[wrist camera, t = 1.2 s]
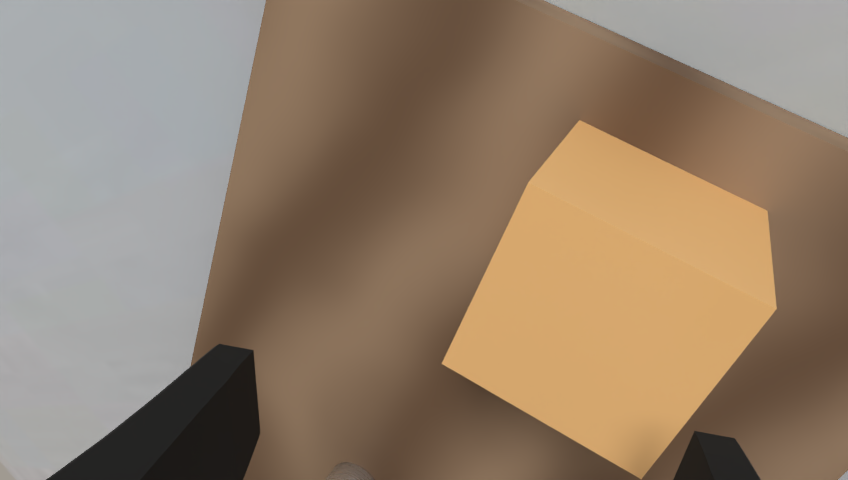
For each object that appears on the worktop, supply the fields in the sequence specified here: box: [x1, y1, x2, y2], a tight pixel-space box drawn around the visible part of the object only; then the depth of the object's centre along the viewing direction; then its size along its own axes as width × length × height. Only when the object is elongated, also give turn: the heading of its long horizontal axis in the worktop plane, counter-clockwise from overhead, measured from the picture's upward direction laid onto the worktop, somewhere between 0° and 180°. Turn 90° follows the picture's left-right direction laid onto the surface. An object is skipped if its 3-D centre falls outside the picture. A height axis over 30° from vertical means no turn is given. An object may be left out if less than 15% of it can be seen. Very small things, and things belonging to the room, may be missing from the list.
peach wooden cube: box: [442, 120, 777, 479], centre depth 16 cm, size 5×5×5 cm
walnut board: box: [191, 0, 848, 480], centre depth 23 cm, size 20×25×2 cm
